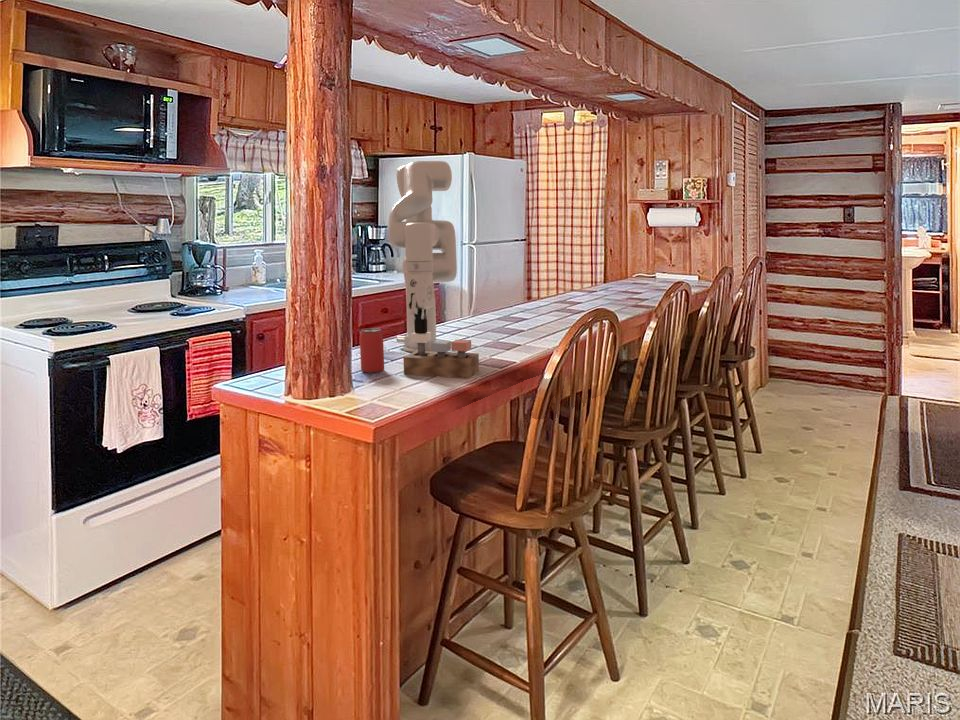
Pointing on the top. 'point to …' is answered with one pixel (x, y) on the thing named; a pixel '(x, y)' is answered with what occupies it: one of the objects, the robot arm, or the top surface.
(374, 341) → the beer can
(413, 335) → the white key
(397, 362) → the top surface
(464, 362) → the walnut console
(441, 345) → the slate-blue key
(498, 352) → the top surface
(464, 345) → the brick-red key
